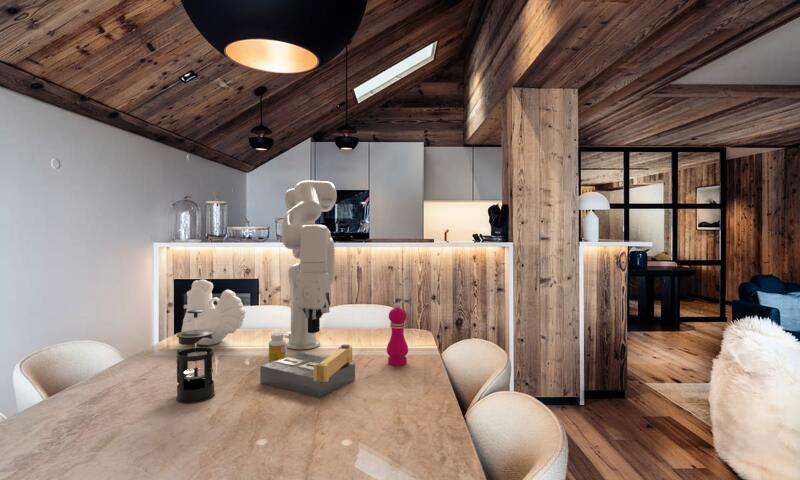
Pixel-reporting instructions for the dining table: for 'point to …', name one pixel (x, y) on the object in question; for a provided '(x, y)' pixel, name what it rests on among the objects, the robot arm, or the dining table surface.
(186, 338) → the french press
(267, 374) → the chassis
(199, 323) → the decorative rooster
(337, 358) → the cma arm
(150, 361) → the dining table surface
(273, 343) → the supplement bottle
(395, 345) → the pepper mill
